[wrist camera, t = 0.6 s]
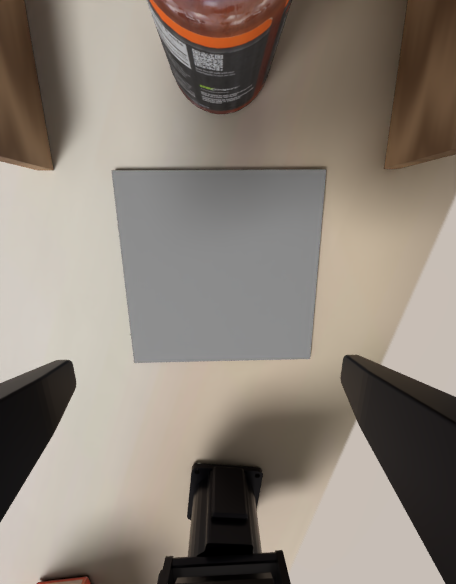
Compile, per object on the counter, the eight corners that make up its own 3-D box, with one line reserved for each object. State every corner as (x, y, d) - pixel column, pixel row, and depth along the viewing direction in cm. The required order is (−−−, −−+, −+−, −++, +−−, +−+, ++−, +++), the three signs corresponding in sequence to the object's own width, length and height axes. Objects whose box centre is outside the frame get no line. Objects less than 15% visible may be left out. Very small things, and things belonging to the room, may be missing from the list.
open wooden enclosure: (398, 168, 18) (471, 150, 13) (38, 170, 18) (-40, 151, 12) (438, -92, 15) (562, -265, 9) (-13, -101, 14) (-154, -291, 9)
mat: (308, 356, 22) (310, 358, 22) (135, 360, 22) (134, 362, 21) (323, 170, 18) (326, 169, 18) (113, 171, 18) (111, 170, 17)
